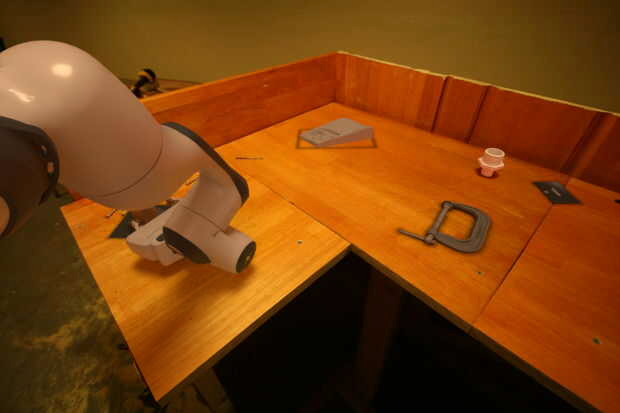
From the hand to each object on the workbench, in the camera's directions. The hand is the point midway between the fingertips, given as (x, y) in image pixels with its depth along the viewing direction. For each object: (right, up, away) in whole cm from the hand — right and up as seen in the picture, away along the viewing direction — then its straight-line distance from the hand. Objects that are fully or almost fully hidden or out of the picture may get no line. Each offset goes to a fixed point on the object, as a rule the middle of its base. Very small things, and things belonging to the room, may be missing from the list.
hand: (152, 211), depth 72 cm
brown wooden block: (-4, -3, +6) cm, 8 cm away
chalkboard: (-1, -3, +8) cm, 9 cm away
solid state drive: (+107, +5, +13) cm, 108 cm away
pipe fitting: (+92, +11, +22) cm, 96 cm away
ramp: (+47, +27, +43) cm, 70 cm away
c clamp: (+73, -4, +4) cm, 73 cm away
